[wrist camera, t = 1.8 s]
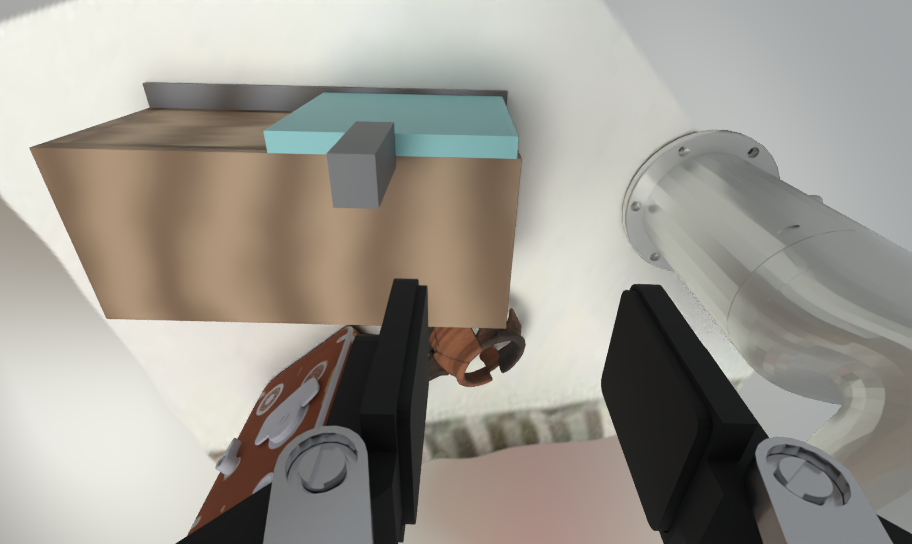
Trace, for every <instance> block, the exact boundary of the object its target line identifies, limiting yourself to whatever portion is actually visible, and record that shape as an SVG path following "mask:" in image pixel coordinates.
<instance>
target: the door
mask: <svg viewBox="0 0 912 544" xmlns="http://www.w3.org/2000/svg"><path fill="white" fill-rule="evenodd" d="M263 132H264V137H265V143H266V148H267V153H285V154H327V162H328V170H329V178H330V186H331V194H332V202H333V208H363V209H379V207H380V205H381V202H382V200H383V198H384V195H385V193H386V190H387V188H388V185H389V183H390V181H391V178H392V176H393V173H394V171H395V169H396V156H414V157H458V158H501V159H517V152H518V140H519V136H518V133H517V131H516V129H515V126H514V124H513V121H512V119H511V116H510V114H509V112H508V109H507V107H506V104H505V102H504V99H503V97H502V96H459V95H415V94H371V93H327V92H324V93H322V94H321V95H319V96H317V97H316V98H314V99H313V100H311V101H309V102H308V103H306V104H305V105H303V106H302V107H300V108H298V109H297V110H295V111H294V112H292V113H290V114H289V115H287V116H286V117H284V118H283V119H281V120H279V121H278V122H276V123H275V124H273V125H271V126H270V127H268V128H267V129H265V130H264V131H263Z"/></svg>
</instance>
